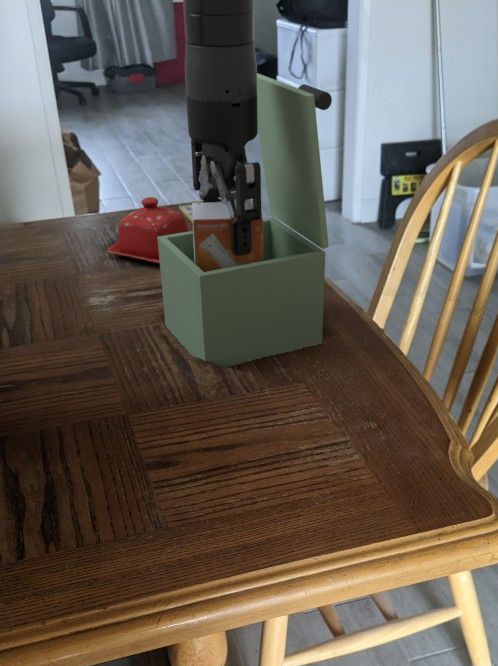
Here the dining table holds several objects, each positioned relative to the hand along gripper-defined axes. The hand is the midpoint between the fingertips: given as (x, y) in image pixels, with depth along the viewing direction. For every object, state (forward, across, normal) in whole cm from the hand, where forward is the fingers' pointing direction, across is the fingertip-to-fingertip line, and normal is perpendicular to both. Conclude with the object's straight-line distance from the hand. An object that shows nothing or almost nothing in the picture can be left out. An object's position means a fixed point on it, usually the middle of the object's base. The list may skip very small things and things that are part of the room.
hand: (227, 242), depth 92 cm
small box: (+9, 0, 0) cm, 9 cm away
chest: (+12, 0, +2) cm, 12 cm away
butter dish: (+13, -32, +1) cm, 35 cm away
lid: (-8, 0, +8) cm, 11 cm away
